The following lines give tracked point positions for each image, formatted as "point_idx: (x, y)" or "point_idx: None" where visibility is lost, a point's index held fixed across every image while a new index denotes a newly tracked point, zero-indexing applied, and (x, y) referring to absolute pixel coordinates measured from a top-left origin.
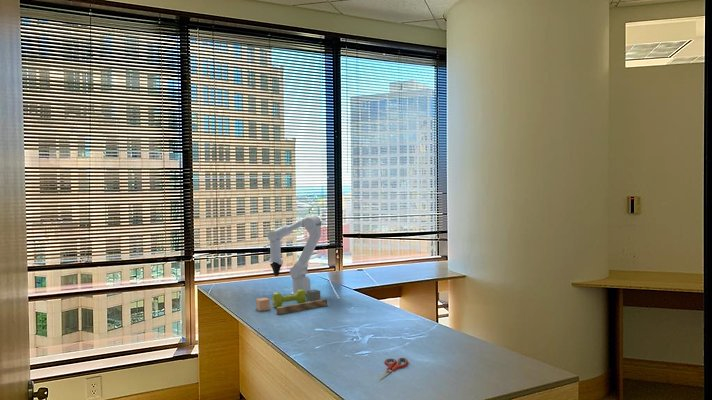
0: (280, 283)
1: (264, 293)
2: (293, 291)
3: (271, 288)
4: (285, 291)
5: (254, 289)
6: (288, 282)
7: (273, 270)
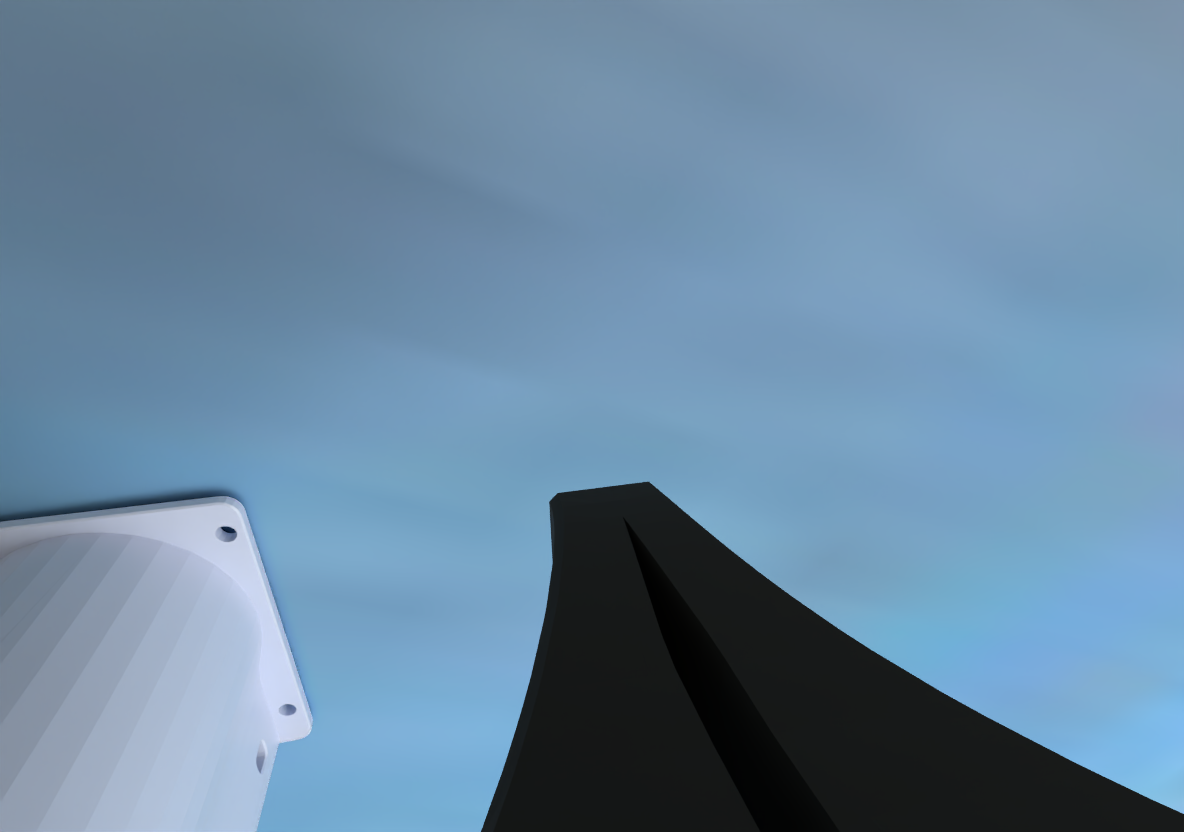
0: (1108, 564)
1: (618, 29)
2: (47, 563)
3: (942, 351)
4: (506, 476)
5: (1172, 22)
6: (1056, 654)
7: (718, 634)
